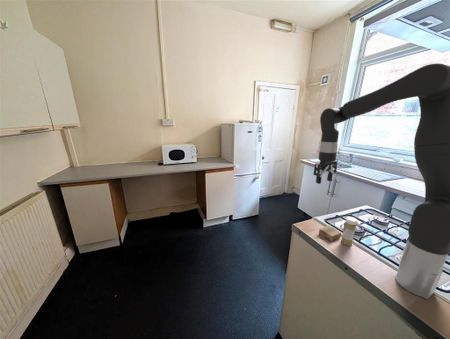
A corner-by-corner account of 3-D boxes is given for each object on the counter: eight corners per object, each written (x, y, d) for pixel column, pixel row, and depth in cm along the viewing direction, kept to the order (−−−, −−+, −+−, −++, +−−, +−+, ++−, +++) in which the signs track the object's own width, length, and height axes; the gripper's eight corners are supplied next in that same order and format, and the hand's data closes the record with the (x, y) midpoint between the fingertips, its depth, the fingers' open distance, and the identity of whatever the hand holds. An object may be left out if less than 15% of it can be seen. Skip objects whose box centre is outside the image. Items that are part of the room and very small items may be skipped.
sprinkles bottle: (343, 238, 90) (347, 215, 86) (353, 243, 86) (359, 219, 83) (339, 242, 87) (344, 218, 83) (350, 247, 84) (355, 222, 80)
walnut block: (340, 237, 91) (341, 232, 90) (331, 241, 88) (332, 236, 87) (327, 230, 97) (328, 225, 96) (318, 233, 94) (319, 228, 93)
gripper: (325, 153, 81) (321, 186, 85) (344, 150, 87) (339, 182, 91) (311, 151, 88) (308, 182, 92) (330, 148, 94) (326, 178, 98)
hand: (323, 182), depth 92 cm, fingers open, 8 cm apart
